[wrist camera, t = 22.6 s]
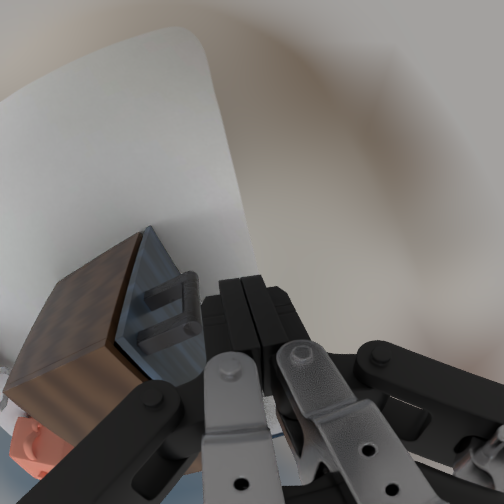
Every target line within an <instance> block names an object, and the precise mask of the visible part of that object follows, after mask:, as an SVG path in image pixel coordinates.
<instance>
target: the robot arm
mask: <svg viewBox="0 0 504 504" xmlns="http://www.w3.org/2000/svg"><path fill="white" fill-rule="evenodd" d="M219 289H220V295H214V296H206V297H205V299H204V301H203V303H202V305H201V313H202V323H203V333H204V342H205V351H206V365H205V368H204V369H203V371H202V372H201V373H200V375H198V376H197V377H196V378H195V379H193V380H191V381H189V382H187V383H184V384H182V385H179V386H177V387H175V386H174V385H173V384H171V383H169V382H167V381H163V380H150V381H146V382H143V383H141V384H139V385H138V386H137V387H135V388H134V389H133V390H132V391H131V392H130V393H129V394H128V395H127V396H126V397H125V398H124V399H123V400H122V401H121V402H120V403H119V404H118V405H117V406H116V407H115V408H114V409H113V410H112V411H111V412H110V413H109V414H108V415H107V416H106V417H105V418H104V419H103V420H102V421H101V422H100V423H99V424H98V425H97V426H96V427H95V428H94V429H93V430H92V431H91V432H90V433H89V434H88V435H87V436H86V437H85V438H84V439H83V440H82V441H80V442H79V443H78V444H77V445H76V446H75V447H74V448H73V449H72V450H71V451H70V452H69V453H68V454H67V455H66V456H65V457H64V458H63V459H62V460H61V461H60V462H59V463H58V464H57V465H56V466H55V467H54V468H53V469H52V470H51V471H50V472H49V473H48V474H46V475H45V476H44V477H43V478H42V479H41V480H40V481H39V482H38V483H37V484H36V485H35V486H34V487H33V488H32V489H31V490H30V491H29V492H28V493H27V494H26V495H25V496H23V497H22V498H21V499H20V500H19V501H18V502H17V503H16V504H160V503H161V502H162V501H163V499H164V498H165V497H166V495H168V493H169V492H170V491H171V490H172V488H173V487H174V486H175V485H176V483H177V482H178V481H179V480H180V478H181V477H182V476H183V475H184V473H185V472H186V471H187V470H188V468H189V467H190V466H191V464H192V463H193V462H194V460H195V459H196V458H197V456H198V454H199V452H201V456H202V480H203V499H204V504H504V385H503V384H500V383H497V382H494V381H491V380H489V379H486V378H483V377H480V376H477V375H474V374H472V373H469V372H466V371H463V370H461V369H458V368H455V367H452V366H450V365H447V364H444V363H442V362H439V361H436V360H434V359H431V358H428V357H426V356H423V355H420V354H417V353H415V352H412V351H410V350H407V349H405V348H402V347H399V346H397V345H394V344H392V343H389V342H386V341H380V340H377V341H376V340H375V341H369V342H367V343H365V344H363V345H362V346H361V347H360V348H359V349H358V352H357V354H332V353H328V352H326V351H325V350H324V348H323V347H322V346H320V345H319V344H318V343H316V342H313V341H311V339H310V337H309V335H308V333H307V331H306V329H305V327H304V325H303V324H302V322H301V320H300V318H299V316H298V314H297V312H296V310H295V308H294V306H293V304H292V302H291V300H290V298H289V296H288V294H287V293H286V292H285V291H283V290H282V289H280V288H279V287H277V286H274V287H268V288H266V286H265V283H264V281H263V278H262V277H261V275H254V276H247V277H241V278H240V279H239V278H234V279H227V280H219ZM262 389H263V393H264V396H265V397H266V396H272V395H273V397H274V400H275V403H276V416H277V419H278V421H279V423H280V426H281V428H282V431H283V433H284V435H285V438H286V440H287V442H288V444H289V447H290V449H291V451H292V454H293V456H294V458H295V461H296V464H297V468H298V473H299V478H300V481H301V483H302V486H281V481H280V476H279V471H278V466H277V461H276V456H275V451H274V446H273V441H272V436H271V432H270V429H269V428H268V425H267V421H266V415H265V410H264V404H263V399H262V397H263V394H262ZM390 396H392V397H394V398H392V397H390ZM395 398H397V399H399V400H397V399H395ZM400 400H402V401H404V402H407V403H409V404H412V405H414V406H417V407H419V408H422V409H419V408H417V407H414V406H412V405H409V404H407V403H404V402H402V401H400ZM408 451H409V452H411V453H414V454H417V455H419V456H422V457H424V458H427V459H430V460H432V461H435V462H438V463H441V464H443V465H446V466H449V467H452V468H453V470H454V472H453V475H450V474H447V473H445V472H442V471H440V470H438V469H435V468H432V467H430V466H428V465H425V464H423V463H420V462H417V461H414V460H413V459H412V457H411V456H410V454H409V453H408Z"/></svg>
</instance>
